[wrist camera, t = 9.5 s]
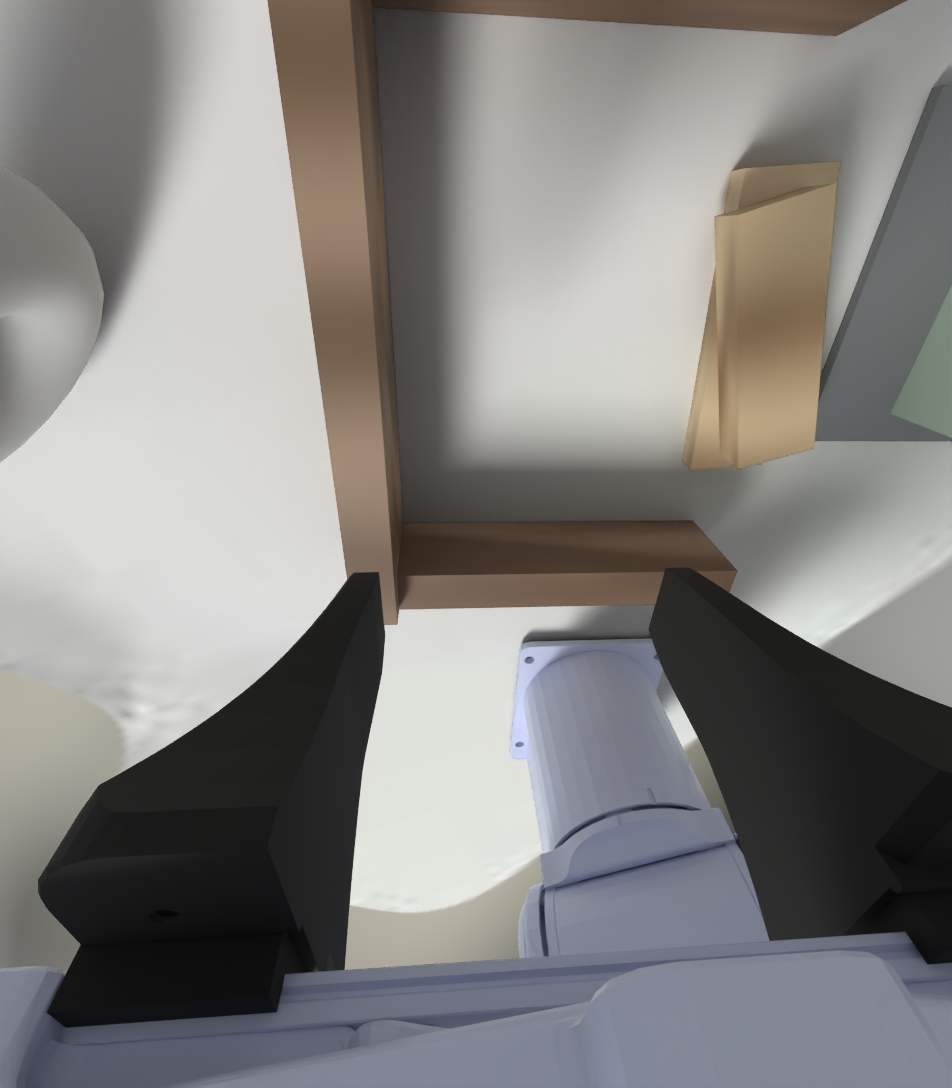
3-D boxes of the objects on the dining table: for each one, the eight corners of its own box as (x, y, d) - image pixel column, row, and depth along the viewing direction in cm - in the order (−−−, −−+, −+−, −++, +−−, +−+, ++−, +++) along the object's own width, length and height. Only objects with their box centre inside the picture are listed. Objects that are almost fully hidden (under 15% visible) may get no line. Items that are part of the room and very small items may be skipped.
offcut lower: (743, 450, 22) (762, 464, 20) (675, 456, 22) (690, 470, 20) (810, 166, 16) (841, 161, 15) (721, 173, 16) (745, 168, 15)
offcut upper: (790, 434, 20) (814, 448, 19) (720, 454, 20) (738, 469, 19) (805, 187, 15) (837, 182, 14) (714, 216, 16) (737, 215, 14)
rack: (683, 550, 24) (737, 619, 19) (369, 554, 23) (353, 627, 18) (860, -47, 13) (1056, -177, 9) (302, -88, 12) (232, -256, 8)
